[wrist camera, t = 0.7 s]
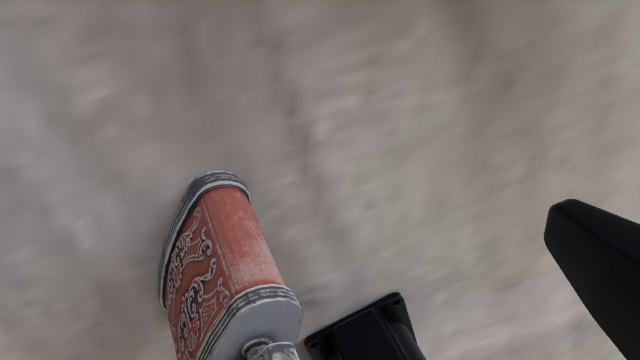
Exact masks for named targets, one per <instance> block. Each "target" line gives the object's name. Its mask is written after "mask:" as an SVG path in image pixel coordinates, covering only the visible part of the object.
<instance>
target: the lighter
mask: <svg viewBox="0 0 640 360" xmlns="http://www.w3.org/2000/svg"><path fill="white" fill-rule="evenodd" d="M158 293H159V298H160V303H161V306H162V308H163V309H164V310H165V311H166V312H167V314H168V319H169V323H170V328H171V332H172V337H173V341H174V346H175V350H176V355H177V359H178V360H299V357H298V355H297V352H296V350H295V346H296V342H297V338H298V334H299V330H300V326H301V322H302V319H303V312H302V309H301V306H300V304H299V302H298V300H297V297H296V295H295V294H294V293H293V291H292V290H291V289H289V288H287V287H286V286H285V284H284V281H283V279H282V277H281V275H280V272H279V270H278V268H277V265H276V263H275V261H274V259H273V256H272V254H271V252H270V249H269V247H268V245H267V243H266V240H265V238H264V236H263V233H262V231H261V229H260V227H259V224H258V222H257V220H256V217H255V215H254V213H253V211H252V208H251V195H250V193H249V190H248V188H247V186H246V184H245V182H244V181H243V179H242V178H241V177H240V176H238V175H237V174H235V173H233V172H229V171H225V170H223V171H212V172H208V173H205V174H202V175H201V176H199V177H198V178H196V179H195V180H194V181H193V182H192V183H191V184H190V186H189V187H188V189H187V191H186V193H185V195H184V196H183V198H182V200H181V202H180V204H179V205H178V207H177V209H176V211H175V213H174V215H173V218H172V220H171V223H170V226H169V228H168V231H167V233H166V236H165V238H164V241H163V246H162V251H161V256H160V261H159V266H158Z"/></svg>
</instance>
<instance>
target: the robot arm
mask: <svg viewBox="0 0 640 360" xmlns="http://www.w3.org/2000/svg"><path fill="white" fill-rule="evenodd" d="M544 241H545V244H546V246H547V248H548V250H549V252H550V253H551V255H552V256H553V258H554V259H555V261H556V262H557V264H558V265H559V267H560V269H561V270H562V272H563V273H564V275H565V276H566V278H567V279H568V281H569V282H570V284H571V285H572V287H573V288H574V290H575V292H576V293H577V295H578V296H579V298H580V299H581V301H582V302H583V304H584V305H585V307H586V308H587V310H588V311H589V313H590V314H591V315H592V317H593V318H594V319H595V321H596V322H597V323H598V325H599V326H600V327H601V328H602V330H603V331H604V332H605V333H606V334H607V336H608V337H609V338H610V339H611V341H612V342H613V343H614V344H615V346H616V347H617V348H618V349H619V351H620V352H621V353H622V354H623V355H624V357H625V358H626V359H627V360H640V224H638V223H635V222H633V221H630V220H628V219H625V218H623V217H620V216H618V215H615V214H612V213H610V212H607V211H605V210H602V209H600V208H597V207H595V206H592V205H589V204H587V203H584V202H582V201H579V200H576V199H567V200H564V201H562V202H559V203H556V204H554V205H552V206H551V207H550V209H549V212H548V217H547V222H546V227H545V232H544ZM304 344H305V346H306V348H307V350H308V352H309V354H310V355H311V357H312V359H313V360H426V358H425V357H424V355H423V353H422V352H421V350H420V348H419V347H418V345H417V342H416V338H415V335H414V332H413V328H412V325H411V322H410V319H409V315H408V312H407V309H406V306H405V302H404V299H403V297H402V296H401V294H400V293H398V292H394V293H392V294H390V295H388V296H386V297H384V298H382V299H380V300H378V301H376V302H374V303H372V304H370V305H368V306H367V307H365V308H363V309H361V310H359V311H357V312H355V313H353V314H351V315H349V316H347V317H345V318H343V319H341V320H339V321H337V322H335V323H334V324H332V325H330V326H328V327H326V328H324V329H322V330H320V331H318V332H316V333H314V334H312V335H310V336H309V337H307V338H306V339H305V341H304Z"/></svg>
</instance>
